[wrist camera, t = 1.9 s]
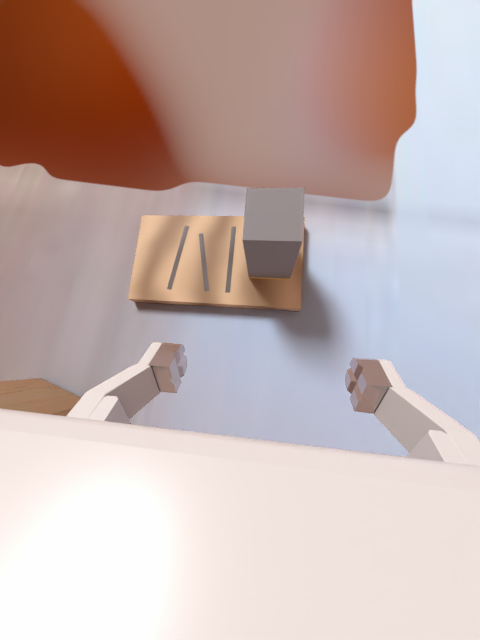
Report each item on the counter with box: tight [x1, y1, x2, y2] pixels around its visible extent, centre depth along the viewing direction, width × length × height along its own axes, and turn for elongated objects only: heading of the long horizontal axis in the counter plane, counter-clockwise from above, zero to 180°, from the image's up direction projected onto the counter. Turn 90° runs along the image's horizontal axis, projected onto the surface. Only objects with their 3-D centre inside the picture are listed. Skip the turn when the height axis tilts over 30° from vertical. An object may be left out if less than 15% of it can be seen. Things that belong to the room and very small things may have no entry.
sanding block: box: [242, 188, 304, 280], centre depth 24 cm, size 5×5×9 cm
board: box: [128, 215, 304, 311], centre depth 29 cm, size 22×12×2 cm, turn 86°
